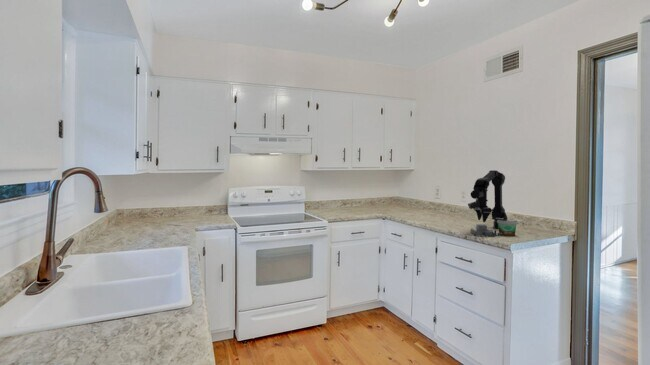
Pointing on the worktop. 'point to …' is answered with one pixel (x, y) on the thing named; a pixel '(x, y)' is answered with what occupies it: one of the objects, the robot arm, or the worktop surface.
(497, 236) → the clip
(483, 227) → the block
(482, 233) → the holder
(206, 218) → the worktop surface
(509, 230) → the food container
